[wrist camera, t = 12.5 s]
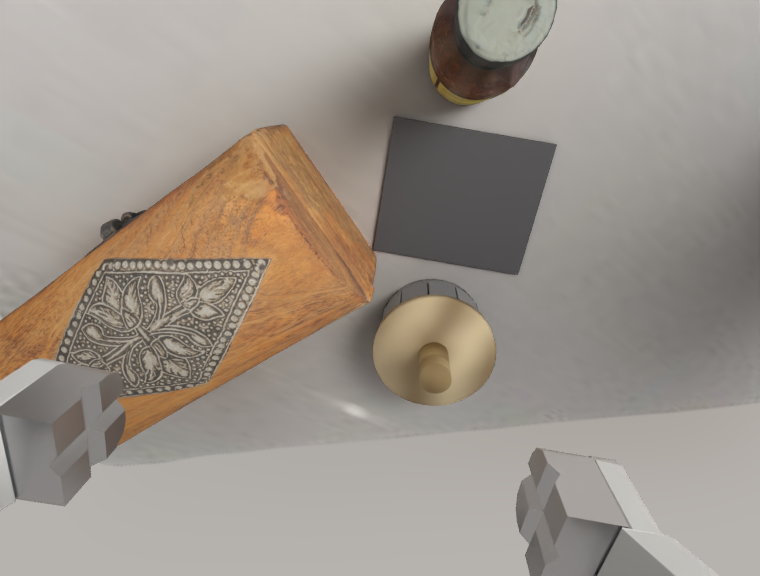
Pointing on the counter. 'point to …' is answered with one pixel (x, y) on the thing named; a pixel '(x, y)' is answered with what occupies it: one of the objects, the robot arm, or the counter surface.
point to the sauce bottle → (485, 45)
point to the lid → (434, 350)
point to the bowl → (428, 292)
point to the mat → (460, 195)
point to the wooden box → (202, 281)
